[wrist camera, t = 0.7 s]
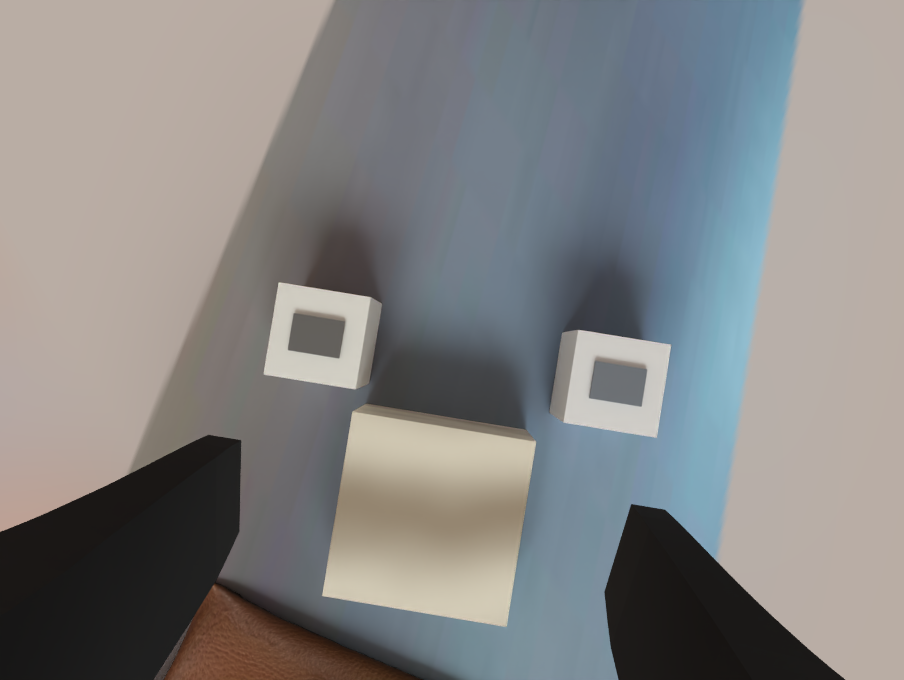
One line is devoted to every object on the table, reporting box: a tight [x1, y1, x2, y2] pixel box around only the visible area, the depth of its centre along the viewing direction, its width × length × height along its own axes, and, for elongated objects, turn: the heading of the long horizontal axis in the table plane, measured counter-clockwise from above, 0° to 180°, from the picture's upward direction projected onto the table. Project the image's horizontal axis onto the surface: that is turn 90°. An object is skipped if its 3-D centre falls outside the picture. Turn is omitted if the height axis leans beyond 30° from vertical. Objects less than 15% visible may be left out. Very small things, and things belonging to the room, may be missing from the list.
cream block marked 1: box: [549, 330, 671, 438], centre depth 27 cm, size 4×4×4 cm
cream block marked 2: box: [264, 282, 382, 389], centre depth 27 cm, size 4×4×4 cm
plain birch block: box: [322, 404, 536, 627], centre depth 27 cm, size 8×8×4 cm
